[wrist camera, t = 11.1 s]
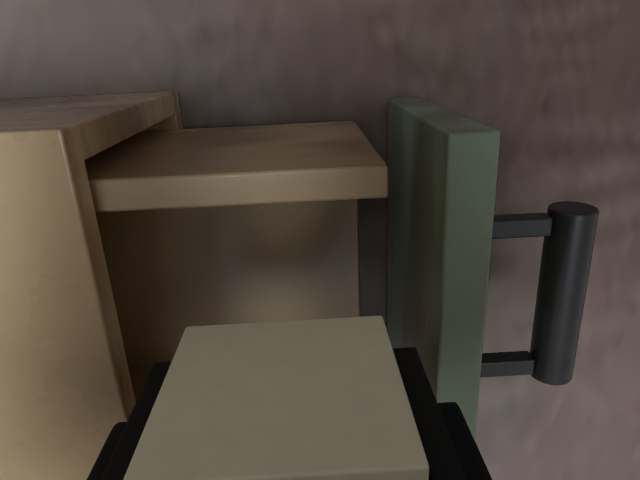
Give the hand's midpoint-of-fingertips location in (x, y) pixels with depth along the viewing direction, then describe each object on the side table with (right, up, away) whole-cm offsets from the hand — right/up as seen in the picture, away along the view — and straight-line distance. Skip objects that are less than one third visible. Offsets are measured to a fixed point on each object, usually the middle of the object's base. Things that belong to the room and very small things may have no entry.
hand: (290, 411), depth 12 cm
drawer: (0, +4, +9) cm, 10 cm away
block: (0, 0, 0) cm, 0 cm away
